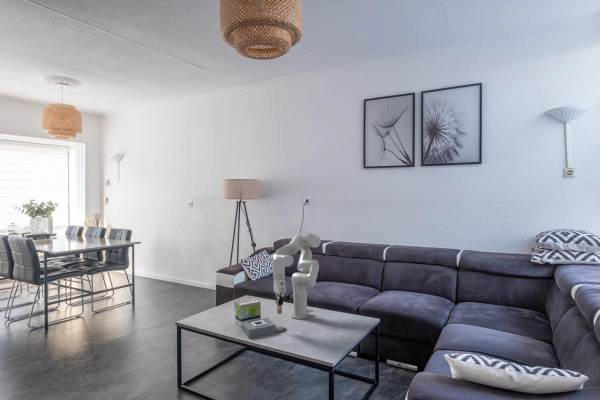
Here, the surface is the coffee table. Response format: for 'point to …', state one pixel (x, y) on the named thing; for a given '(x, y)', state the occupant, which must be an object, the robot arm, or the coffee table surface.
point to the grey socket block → (258, 327)
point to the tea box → (247, 311)
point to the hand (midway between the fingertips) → (279, 303)
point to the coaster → (280, 329)
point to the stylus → (279, 306)
